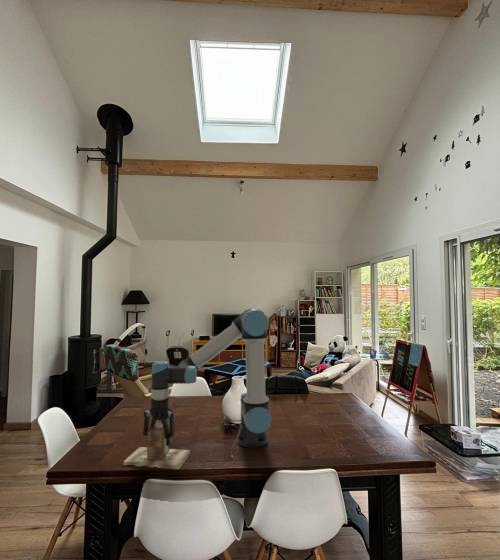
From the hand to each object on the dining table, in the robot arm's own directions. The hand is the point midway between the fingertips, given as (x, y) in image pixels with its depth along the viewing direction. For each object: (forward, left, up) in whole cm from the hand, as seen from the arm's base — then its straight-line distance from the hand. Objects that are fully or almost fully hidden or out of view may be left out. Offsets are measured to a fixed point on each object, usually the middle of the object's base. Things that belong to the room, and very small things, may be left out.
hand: (158, 452), depth 140 cm
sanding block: (0, 0, -1) cm, 1 cm away
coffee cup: (+4, -16, -3) cm, 17 cm away
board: (0, 0, -3) cm, 3 cm away
